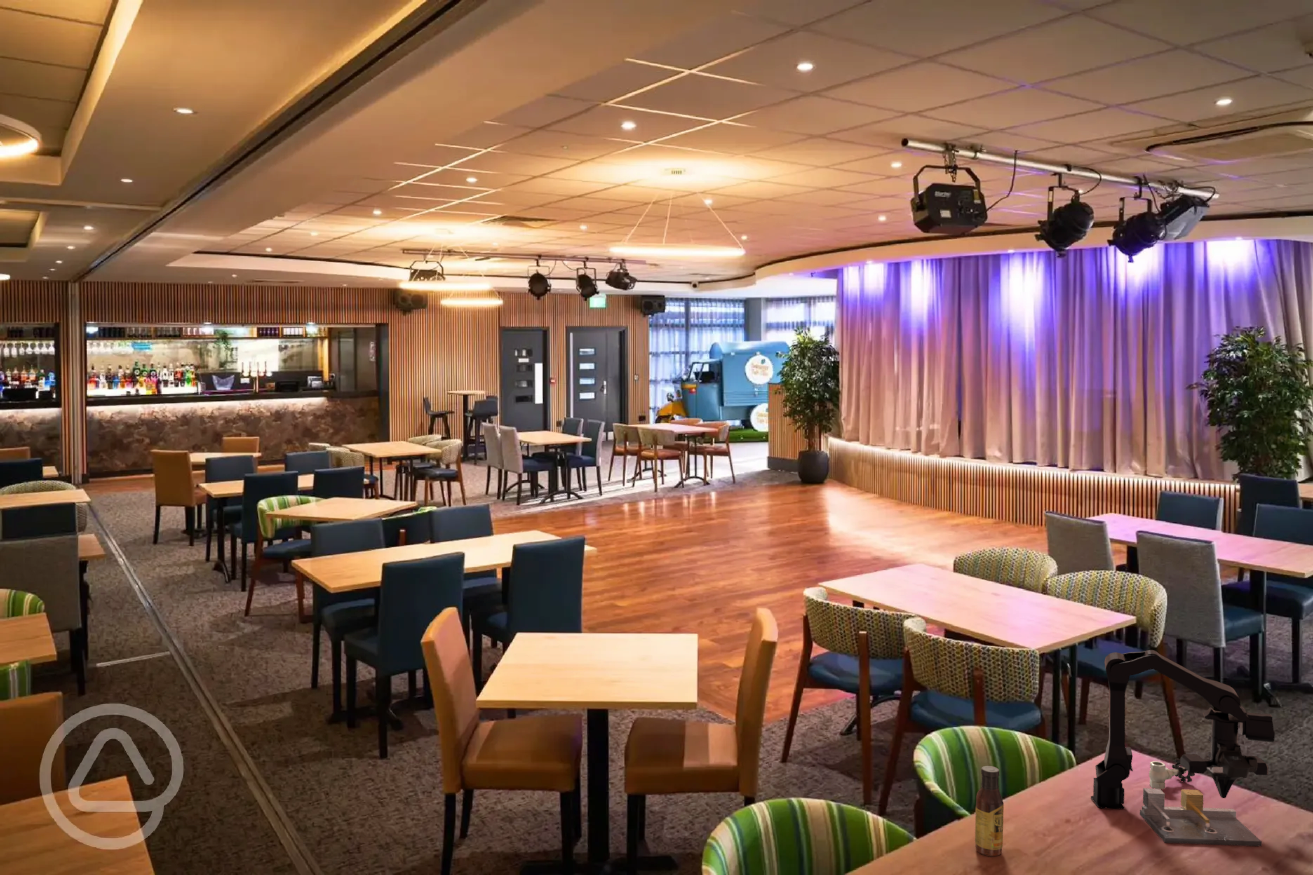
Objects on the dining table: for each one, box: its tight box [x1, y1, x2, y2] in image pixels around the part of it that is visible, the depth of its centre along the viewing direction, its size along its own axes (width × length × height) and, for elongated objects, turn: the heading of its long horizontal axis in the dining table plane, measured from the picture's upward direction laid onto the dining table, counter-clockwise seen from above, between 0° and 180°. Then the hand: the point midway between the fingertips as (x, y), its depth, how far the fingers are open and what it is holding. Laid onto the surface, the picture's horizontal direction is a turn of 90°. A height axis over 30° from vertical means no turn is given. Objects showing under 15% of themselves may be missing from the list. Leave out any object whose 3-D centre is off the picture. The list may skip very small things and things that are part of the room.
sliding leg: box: [1180, 789, 1210, 830], centre depth 239 cm, size 4×10×6 cm, turn 174°
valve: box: [1148, 758, 1196, 791], centre depth 263 cm, size 7×7×12 cm
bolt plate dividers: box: [1139, 787, 1263, 847], centre depth 237 cm, size 22×15×7 cm
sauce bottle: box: [974, 765, 1005, 857], centre depth 227 cm, size 6×6×20 cm
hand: (1222, 797), depth 242 cm, fingers closed
